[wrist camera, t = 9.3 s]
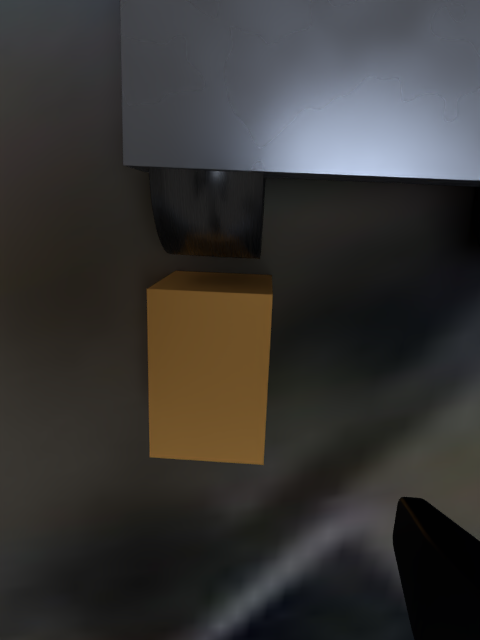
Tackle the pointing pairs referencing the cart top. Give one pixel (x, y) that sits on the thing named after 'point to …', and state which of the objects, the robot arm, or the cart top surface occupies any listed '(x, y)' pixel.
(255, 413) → the block
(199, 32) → the trolley
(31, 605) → the cart top surface
